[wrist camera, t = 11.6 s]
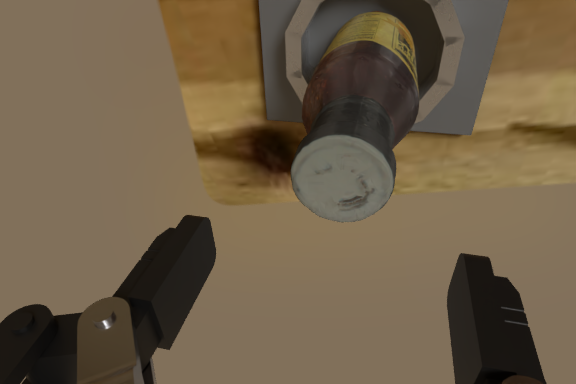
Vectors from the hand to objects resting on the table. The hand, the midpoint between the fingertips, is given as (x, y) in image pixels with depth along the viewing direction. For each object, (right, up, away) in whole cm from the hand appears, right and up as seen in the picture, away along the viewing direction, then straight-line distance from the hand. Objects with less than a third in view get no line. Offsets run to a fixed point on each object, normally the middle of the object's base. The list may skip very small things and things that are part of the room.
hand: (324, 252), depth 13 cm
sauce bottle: (+6, +13, +18) cm, 23 cm away
